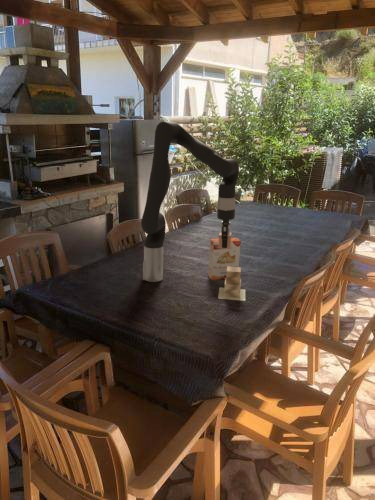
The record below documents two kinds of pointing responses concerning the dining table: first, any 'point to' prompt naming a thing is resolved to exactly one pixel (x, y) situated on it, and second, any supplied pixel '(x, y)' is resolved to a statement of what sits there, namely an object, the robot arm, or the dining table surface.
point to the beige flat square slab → (221, 296)
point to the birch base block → (232, 290)
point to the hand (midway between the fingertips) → (224, 245)
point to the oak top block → (233, 275)
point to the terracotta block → (227, 241)
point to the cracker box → (222, 258)
